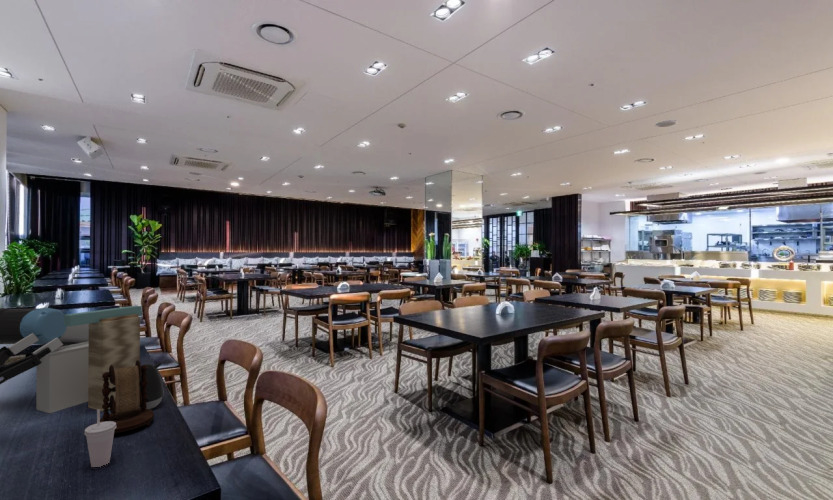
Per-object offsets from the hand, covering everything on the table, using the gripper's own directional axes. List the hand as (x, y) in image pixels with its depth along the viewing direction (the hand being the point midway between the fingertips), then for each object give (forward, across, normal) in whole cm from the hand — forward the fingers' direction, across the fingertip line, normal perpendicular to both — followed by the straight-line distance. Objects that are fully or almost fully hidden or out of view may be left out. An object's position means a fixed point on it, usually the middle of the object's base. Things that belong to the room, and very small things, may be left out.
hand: (47, 338), depth 120 cm
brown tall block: (+3, 0, +33) cm, 33 cm away
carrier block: (-2, +14, +30) cm, 33 cm away
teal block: (+15, 0, +5) cm, 16 cm away
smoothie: (-19, -39, +20) cm, 48 cm away
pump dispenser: (+4, -14, +34) cm, 37 cm away
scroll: (-6, -23, +28) cm, 37 cm away
